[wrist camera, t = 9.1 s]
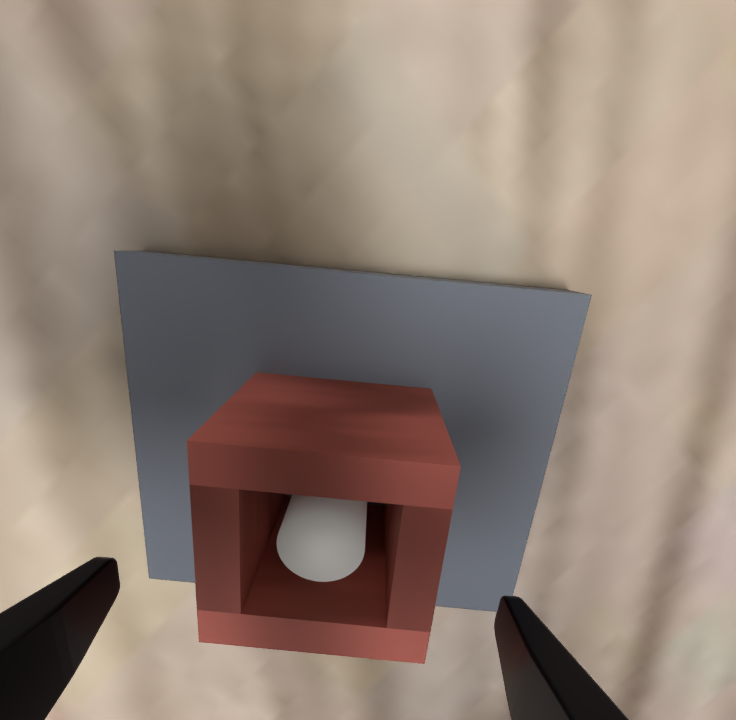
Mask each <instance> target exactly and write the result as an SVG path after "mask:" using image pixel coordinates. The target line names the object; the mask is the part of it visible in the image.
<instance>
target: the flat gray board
mask: <svg viewBox="0 0 736 720" xmlns="http://www.w3.org/2000/svg"><path fill="white" fill-rule="evenodd" d="M114 255H115V265H116V274H117V283H118V293H119V302H120V311H121V321H122V330H123V339H124V349H125V358H126V367H127V377H128V386H129V395H130V405H131V414H132V423H133V433H134V442H135V451H136V461H137V470H138V479H139V489H140V498H141V507H142V517H143V526H144V535H145V545H146V554H147V563H148V573H149V578H151V579H161V580H172V581H182V582H193V583H195V568H194V552H193V536H192V519H191V503H190V487H189V470H188V454H187V440H188V439H189V438H190V437H191V436H192V435H193V434H194V433H195V432H196V431H197V430H198V429H199V428H200V427H201V426H202V425H203V424H204V423H205V422H206V421H207V420H208V419H209V418H210V417H211V416H212V415H213V414H214V413H215V412H216V411H217V410H218V409H219V408H220V407H221V406H222V405H223V404H224V403H225V402H226V401H227V400H229V399H230V398H231V397H232V396H233V395H234V394H235V393H236V392H237V391H238V390H239V389H240V388H241V387H242V386H243V385H244V384H245V383H246V382H247V381H248V380H249V379H250V378H251V377H252V376H253V375H254V374H255V373H256V372H258V373H269V374H280V375H291V376H301V377H312V378H323V379H333V380H344V381H355V382H365V383H376V384H387V385H397V386H408V387H419V388H430V389H432V391H433V394H434V397H435V399H436V402H437V405H438V407H439V410H440V413H441V415H442V418H443V421H444V423H445V426H446V428H447V431H448V434H449V436H450V439H451V442H452V444H453V447H454V450H455V452H456V455H457V458H458V460H459V463H460V466H461V468H460V474H459V479H458V484H457V490H456V495H455V501H454V506H453V511H452V517H451V522H450V528H449V533H448V539H447V544H446V549H445V555H444V560H443V566H442V571H441V576H440V582H439V587H438V593H437V598H436V604H435V606H442V607H452V608H463V609H473V610H484V611H494V612H497V610H498V606H499V602H500V599H501V597H502V596H513V593H514V589H515V585H516V581H517V577H518V574H519V570H520V566H521V562H522V558H523V554H524V551H525V547H526V543H527V539H528V535H529V532H530V528H531V524H532V520H533V516H534V513H535V509H536V505H537V501H538V497H539V494H540V490H541V486H542V482H543V478H544V475H545V471H546V467H547V463H548V459H549V456H550V452H551V448H552V444H553V440H554V436H555V433H556V429H557V425H558V421H559V417H560V414H561V410H562V406H563V402H564V398H565V395H566V391H567V387H568V383H569V379H570V376H571V372H572V368H573V364H574V360H575V357H576V353H577V349H578V345H579V341H580V338H581V334H582V330H583V326H584V322H585V319H586V315H587V311H588V307H589V303H590V299H591V296H592V295H589V294H584V293H579V292H575V291H570V290H560V289H549V288H538V287H527V286H516V285H506V284H495V283H484V282H473V281H462V280H452V279H441V278H430V277H419V276H409V275H398V274H387V273H376V272H365V271H355V270H344V269H333V268H322V267H311V266H301V265H290V264H279V263H268V262H258V261H247V260H236V259H225V258H214V257H204V256H193V255H182V254H171V253H161V252H150V251H114ZM286 496H287V497H291V499H290V502H289V505H288V508H287V510H286V513H285V516H284V519H283V522H282V524H281V527H280V530H279V533H278V536H277V551H278V554H279V557H280V558H281V560H282V562H283V563H284V564H285V566H286V567H287V568H288V569H290V570H291V571H292V572H293V573H295V574H297V575H298V576H300V577H302V578H305V579H308V580H312V581H318V582H329V581H335V580H339V579H342V578H344V577H346V576H348V575H350V574H351V573H352V572H354V571H355V570H356V569H357V568H358V566H359V565H360V564H361V562H362V560H363V557H364V553H365V538H366V517H367V504H371V505H382V506H384V503H377V502H367V501H356V500H346V499H335V498H325V497H314V496H303V495H293V494H286Z"/></svg>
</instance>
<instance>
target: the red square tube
mask: <svg viewBox="0 0 736 720" xmlns="http://www.w3.org/2000/svg"><path fill="white" fill-rule="evenodd" d="M187 454H188V470H189V487H190V503H191V519H192V536H193V552H194V568H195V584H196V601H197V617H198V633H199V642H205V643H215V644H225V645H236V646H246V647H256V648H267V649H277V650H287V651H298V652H308V653H318V654H329V655H339V656H350V657H360V658H370V659H381V660H391V661H401V662H412V663H422V664H424V663H425V658H426V652H427V647H428V641H429V636H430V631H431V625H432V620H433V614H434V609H435V604H436V598H437V593H438V587H439V582H440V576H441V571H442V566H443V560H444V555H445V549H446V544H447V539H448V533H449V528H450V522H451V517H452V511H453V506H454V501H455V495H456V490H457V484H458V479H459V474H460V468H461V466H460V463H459V460H458V458H457V455H456V452H455V450H454V447H453V444H452V442H451V439H450V436H449V434H448V431H447V428H446V426H445V423H444V421H443V418H442V415H441V413H440V410H439V407H438V405H437V402H436V399H435V397H434V394H433V391H432V389H430V388H419V387H408V386H397V385H387V384H376V383H365V382H355V381H344V380H333V379H323V378H312V377H301V376H291V375H280V374H269V373H258V372H256V373H255V374H254V375H253V376H252V377H251V378H250V379H249V380H248V381H247V382H246V383H245V384H244V385H243V386H242V387H241V388H240V389H239V390H238V391H237V392H236V393H235V394H234V395H233V396H232V397H231V398H230V399H229V400H227V401H226V402H225V403H224V404H223V405H222V406H221V407H220V408H219V409H218V410H217V411H216V412H215V413H214V414H213V415H212V416H211V417H210V418H209V419H208V420H207V421H206V422H205V423H204V424H203V425H202V426H201V427H200V428H199V429H198V430H197V431H196V432H195V433H194V434H193V435H192V436H191V437H190V438H189V439H188V440H187ZM286 494H293V495H303V496H314V497H325V498H335V499H346V500H356V501H367V502H377V503H384V506H382V505H371V504H367V517H366V538H365V553H364V557H363V560H362V562H361V564H360V565H359V566H358V568H357V569H356V570H355V571H354V572H352V573H351V574H350V575H348V576H346V577H344V578H342V579H339V580H335V581H329V582H318V581H312V580H308V579H305V578H302V577H300V576H298V575H297V574H295V573H293V572H292V571H291V570H290V569H288V568H287V567H286V566H285V564H284V563H283V562H282V560H281V558H280V557H279V554H278V551H277V536H278V533H279V530H280V527H281V524H282V522H283V519H284V516H285V513H286V510H287V508H288V505H289V502H290V499H291V497H287V496H286Z"/></svg>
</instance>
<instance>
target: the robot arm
mask: <svg viewBox="0 0 736 720" xmlns="http://www.w3.org/2000/svg"><path fill="white" fill-rule="evenodd" d="M119 589H120V581H119V573H118V566H117V561H116V560H115V559H114V558H108V557H96V558H93V559H91V560H90V561H88V562H86V563H85V564H83V565H81V566H79V567H78V568H76V569H74V570H73V571H71V572H69V573H68V574H66V575H64V576H63V577H61V578H59V579H57V580H56V581H54V582H52V583H51V584H49V585H47V586H46V587H44V588H42V589H41V590H39V591H37V592H35V593H34V594H32V595H30V596H29V597H27V598H25V599H24V600H22V601H20V602H19V603H17V604H15V605H13V606H12V607H10V608H8V609H7V610H5V611H3V612H2V613H0V720H45V718H46V717H47V715H48V714H49V712H50V711H51V709H52V708H53V706H54V705H55V703H56V702H57V700H58V698H59V697H60V695H61V694H62V692H63V691H64V689H65V688H66V686H67V685H68V683H69V681H70V680H71V678H72V677H73V675H74V673H75V672H76V670H77V668H78V667H79V665H80V663H81V661H82V660H83V658H84V656H85V654H86V652H87V650H88V649H89V647H90V645H91V643H92V641H93V639H94V638H95V636H96V634H97V632H98V630H99V628H100V627H101V625H102V623H103V621H104V619H105V618H106V616H107V614H108V612H109V610H110V608H111V607H112V605H113V603H114V601H115V599H116V597H117V595H118V593H119ZM494 629H495V636H496V642H497V647H498V653H499V658H500V663H501V669H502V674H503V680H504V685H505V690H506V696H507V701H508V706H509V711H510V716H511V720H629V719H628V718H627V717H626V716H625V715H624V714H623V713H622V711H621V710H620V709H619V708H618V707H617V706H616V705H615V704H614V702H613V701H612V700H611V699H610V698H609V697H608V696H607V695H606V693H605V692H604V691H603V690H602V689H601V688H600V687H599V685H598V684H597V683H596V682H595V681H594V680H593V679H592V678H591V676H590V675H589V674H588V673H587V672H586V671H585V670H584V669H583V667H582V666H581V665H580V664H579V663H578V662H577V661H576V659H575V658H574V657H573V656H572V655H571V654H570V653H569V652H568V650H567V649H566V648H565V647H564V646H563V645H562V644H561V643H560V641H559V640H558V639H557V638H556V637H555V636H554V635H553V634H552V632H551V631H550V630H549V629H548V628H547V627H546V626H545V624H544V623H543V622H542V621H541V620H540V619H539V618H538V617H537V615H536V614H535V613H534V612H533V611H532V610H531V609H530V608H529V606H528V605H527V604H526V603H525V602H524V601H523V600H522V599H521V598H519V597H516V596H502V597H501V599H500V602H499V606H498V610H497V614H496V618H495V623H494Z"/></svg>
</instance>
